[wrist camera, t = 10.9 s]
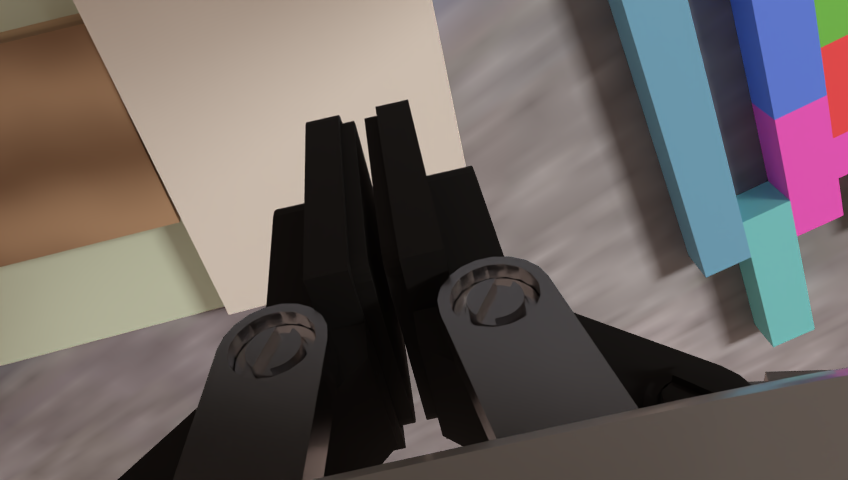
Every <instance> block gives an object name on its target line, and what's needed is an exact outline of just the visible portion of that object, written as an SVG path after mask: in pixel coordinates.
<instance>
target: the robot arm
mask: <svg viewBox="0 0 848 480" xmlns="http://www.w3.org/2000/svg"><path fill="white" fill-rule="evenodd" d="M375 109H376V115H377V116H373V117H369V118H364V121H365V129H366V137H367V145H368V153H369V161H370V169H371V177H372V183H371V179H370V175H369V172H368V168H367V164H366V161H365V157H364V153H363V150H362V146H361V142H360V138H359V135H358V131H357V128H356V124H355V122H354V121H351V122H346V123H342V120H341V117H340V116H339V115H336V116H332V117H328V118H323V119H319V120H314V121H310V122H306V125H305V186H304V203H303V204H298V205H294V206H289V207H285V208H280V209H276V210H275V211H274V215H273V224H272V237H271V250H270V263H269V277H268V290H267V303H266V307H265V308H263V309H261V310H258V311H256V312H254V313H252V314H249V315H248V316H246V317H245V318H244V319H242V320H241V321H239V322H238V323H236V324H235V325H234V326H233V327H232V328H231V329H230V330H229V331H228V332H227V334H226V335H225V336H224V337H223V339H222V341H221V343H220V345H219V346H218V348H217V350H216V353H215V356H214V359H213V362H212V365H211V368H210V371H209V374H208V377H207V380H206V383H205V386H204V389H203V392H202V395H201V398H200V401H199V404H198V407H197V408H196V409H195V410H194V411H193V412H192V413H191V414H190V415H189V416H188V417H186V418H185V419H184V420H183V421H182V422H181V423H180V424H179V425H178V426H177V427H175V428H174V429H173V430H172V431H171V432H170V433H169V434H168V435H167V436H165V437H164V438H163V439H162V440H161V441H160V442H159V443H158V444H157V445H156V446H154V447H153V448H152V449H151V450H150V451H149V452H148V453H147V454H146V455H144V456H143V457H142V458H141V459H140V460H139V461H138V462H137V463H136V464H134V465H133V466H132V467H131V468H130V469H129V470H128V471H127V472H126V473H125V474H123V475H122V476H121V477H120V478H119V479H118V480H848V368H842V369H836V370H813V371H779V372H765V378H764V381H758V382H747V381H746V380H745V379H744V378H742V377H741V376H740V375H739V374H736V373H734V372H732V371H730V370H728V369H726V368H724V367H722V366H720V365H717V364H715V363H712V362H709V361H706V360H704V359H701V358H698V357H695V356H692V355H690V354H687V353H684V352H681V351H679V350H676V349H673V348H670V347H667V346H665V345H662V344H659V343H656V342H654V341H651V340H648V339H645V338H642V337H640V336H637V335H634V334H631V333H629V332H626V331H623V330H620V329H618V328H615V327H612V326H609V325H606V324H604V323H601V322H598V321H595V320H593V319H590V318H587V317H584V316H581V315H579V314H576V313H573V311H572V310H571V308H570V307H569V305H568V304H567V302H566V301H565V300H564V298H563V297H562V295H561V294H560V292H559V291H558V289H557V288H556V286H555V285H554V283H553V282H552V280H551V279H550V278H549V276H548V275H547V274H546V273H545V272H544V271H543V270H542V269H541V268H540V267H539V266H537V265H535V264H533V263H531V262H529V261H527V260H524V259H519V258H514V257H504V255H503V252H502V249H501V247H500V244H499V241H498V238H497V235H496V232H495V229H494V226H493V224H492V221H491V218H490V215H489V212H488V209H487V206H486V203H485V201H484V198H483V195H482V192H481V189H480V186H479V183H478V180H477V178H476V175H475V172H474V169H473V167H472V166H468V167H463V168H459V169H454V170H450V171H445V172H441V173H437V174H432V175H428V176H426V172H425V167H424V163H423V159H422V155H421V151H420V147H419V143H418V139H417V134H416V130H415V126H414V122H413V118H412V114H411V110H410V106H409V102H408V99H407V100H403V101H399V102H394V103H390V104H385V105H381V106H376V107H375ZM372 185H373V186H372ZM405 345H406V349H407V352H408V356H409V359H410V363H411V366H412V370H413V373H414V377H415V380H416V384H417V387H418V391H419V394H420V398H421V401H422V405H423V408H424V412H425V415H426V419H427V420H429V419H433V418H438V420H439V423H440V427H441V431H442V435H443V436H444V437H446V438H447V439H450V440H452V441H454V442H456V443H458V444H459V445H461V446H463V447H458V448H454V449H449V450H445V451H440V452H436V453H431V454H426V455H422V456H417V457H413V458H408V459H404V460H399V461H395V462H390V463H385V464H382V463H383V462H384V461H385V460H386V459H387V458H388V456H389V455H390V454H391V453H392V452H393V451H394V450H398V449H403V448H406V445H405V437H404V429H403V425H406V424H411V423H415V422H416V419H415V411H414V404H413V397H412V390H411V383H410V376H409V370H408V363H407V356H406V349H405Z"/></svg>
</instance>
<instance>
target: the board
mask: <svg viewBox="0 0 848 480" xmlns="http://www.w3.org/2000/svg"><path fill="white" fill-rule="evenodd" d="M73 2H74V4H75V6H76V8H77V10H78V12H79V14H80V16H81V18H82V20H83V22H84V24H85V26H86V28H87V30H88V32H89V34H90V36H91V38H92V40H93V42H94V44H95V46H96V48H97V50H98V52H99V54H100V56H101V58H102V60H103V62H104V64H105V66H106V68H107V70H108V72H109V74H110V76H111V78H112V80H113V82H114V84H115V86H116V88H117V90H118V92H119V94H120V96H121V99H122V101H123V103H124V105H125V107H126V109H127V111H128V113H129V115H130V117H131V119H132V121H133V123H134V125H135V127H136V129H137V131H138V133H139V135H140V137H141V139H142V141H143V143H144V145H145V147H146V149H147V151H148V153H149V155H150V157H151V159H152V161H153V163H154V165H155V167H156V169H157V171H158V173H159V175H160V177H161V179H162V181H163V183H164V185H165V187H166V189H167V191H168V193H169V195H170V197H171V199H172V201H173V203H174V205H175V207H176V209H177V211H178V213H179V215H180V218H181V220H182V222H183V224H184V226H185V228H186V230H187V232H188V234H189V236H190V238H191V240H192V242H193V244H194V246H195V248H196V250H197V252H198V254H199V256H200V258H201V260H202V262H203V264H204V266H205V268H206V270H207V272H208V274H209V276H210V278H211V280H212V282H213V284H214V286H215V288H216V290H217V292H218V294H219V296H220V298H221V300H222V302H223V304H224V306H225V308H226V310H227V312H228V314H229V315H230V314H233V313H237V312H241V311H245V310H249V309H252V308H256V307H260V306H264V305H266V303H267V290H268V277H269V263H270V250H271V237H272V224H273V215H274V211H275V210H276V209H280V208H285V207H289V206H294V205H298V204H303V203H304V186H305V125H306V122H310V121H314V120H319V119H323V118H328V117H332V116H336V115H339V116H340V117H341V120H342V123H346V122H351V121H354V122H355V124H356V128H357V131H358V135H359V138H360V142H361V146H362V150H363V153H364V157H365V161H366V164H367V168H368V172H369V175H370V179H371V183H372V177H371V169H370V161H369V153H368V145H367V137H366V129H365V121H364V118H369V117H373V116H377V115H376V109H375V107H376V106H381V105H385V104H390V103H394V102H399V101H403V100H407V99H408V102H409V106H410V110H411V114H412V118H413V122H414V126H415V130H416V134H417V139H418V143H419V147H420V151H421V155H422V159H423V163H424V167H425V172H426V176H428V175H432V174H437V173H441V172H445V171H450V170H454V169H459V168H463V167H466V165H465V160H464V155H463V150H462V145H461V140H460V135H459V130H458V125H457V121H456V116H455V111H454V106H453V101H452V96H451V91H450V86H449V81H448V76H447V71H446V67H445V62H444V57H443V52H442V47H441V42H440V37H439V32H438V27H437V22H436V18H435V13H434V8H433V3H432V0H73ZM372 186H373V185H372Z"/></svg>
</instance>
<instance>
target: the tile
mask: <svg viewBox="0 0 848 480" xmlns="http://www.w3.org/2000/svg"><path fill="white" fill-rule="evenodd" d="M180 219H181V218H180V215H179V213H178V211H177V209H176V207H175V205H174V203H173V201H172V199H171V197H170V195H169V193H168V191H167V189H166V187H165V185H164V183H163V181H162V179H161V177H160V175H159V173H158V171H157V169H156V167H155V165H154V163H153V161H152V159H151V157H150V155H149V153H148V151H147V149H146V147H145V145H144V143H143V141H142V139H141V137H140V135H139V133H138V131H137V129H136V127H135V125H134V123H133V121H132V119H131V117H130V115H129V113H128V111H127V109H126V107H125V105H124V103H123V101H122V99H121V96H120V94H119V92H118V90H117V88H116V86H115V84H114V82H113V80H112V78H111V76H110V74H109V72H108V70H107V68H106V66H105V64H104V62H103V60H102V58H101V56H100V54H99V52H98V50H97V48H96V46H95V44H94V42H93V40H92V38H91V36H90V34H89V32H88V30H87V28H86V26H85V24H84V22H83V20H82V18H81V16H80V14H79V13H77V14H73V15H69V16H65V17H61V18H57V19H53V20H49V21H45V22H41V23H37V24H32V25H28V26H24V27H20V28H16V29H12V30H8V31H4V32H0V267H3V266H7V265H11V264H15V263H19V262H23V261H27V260H31V259H35V258H39V257H43V256H47V255H51V254H55V253H59V252H63V251H67V250H71V249H75V248H79V247H83V246H87V245H91V244H95V243H99V242H103V241H107V240H111V239H115V238H119V237H123V236H127V235H131V234H135V233H139V232H143V231H147V230H151V229H155V228H159V227H163V226H167V225H171V224H175V223H179V222H180Z"/></svg>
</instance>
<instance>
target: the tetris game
mask: <svg viewBox="0 0 848 480" xmlns="http://www.w3.org/2000/svg"><path fill="white" fill-rule="evenodd" d="M608 2H609V5H610V8H611V11H612V14H613V17H614V21H615V24H616V27H617V30H618V33H619V36H620V40H621V43H622V46H623V49H624V52H625V55H626V59H627V62H628V65H629V68H630V71H631V74H632V78H633V81H634V84H635V87H636V90H637V93H638V97H639V100H640V103H641V106H642V109H643V112H644V116H645V119H646V122H647V125H648V128H649V131H650V135H651V138H652V141H653V144H654V147H655V150H656V154H657V157H658V160H659V163H660V166H661V169H662V173H663V176H664V179H665V182H666V185H667V188H668V192H669V195H670V198H671V201H672V204H673V207H674V211H675V214H676V217H677V220H678V223H679V226H680V230H681V233H682V236H683V239H684V242H685V245H686V249H687V252H688V255H689V257H690V258H691V259H692V260H693V262H694V263H695V264H696V265H697V267H698V268H699V269H700V270H701V272H702V273H703V274H704V275H705V277H709V276H711V275H713V274H715V273H717V272H720V271H722V270H724V269H726V268H728V267H731V266H733V265H735V264H737V263H739V266H740V270H741V273H742V277H743V281H744V285H745V289H746V292H747V296H748V300H749V304H750V308H751V312H752V315H753V319H754V323H755V325H756V326H757V328H758V329H759V330H760V331H761V333H762V334H763V335H764V336H765V337H766V339H767V340H768V341H769V342H770V344H771V345H772V346H773V347H775V346H777V345H779V344H782V343H784V342H786V341H789V340H791V339H793V338H796V337H798V336H800V335H802V334H805V333H807V332H809V331H812V330H814V329H815V328H814V323H813V318H812V312H811V307H810V302H809V297H808V291H807V286H806V281H805V276H804V270H803V265H802V260H801V255H800V250H799V244H798V239H797V236H799V235H801V234H803V233H806V232H808V231H810V230H812V229H814V228H817V227H819V226H821V225H823V224H825V223H828V222H830V221H832V220H834V219H836V218H839V217H841V216H843V208H842V200H841V193H840V186H839V178H840V177H842V176H845V175H847V174H848V0H730V2H731V7H732V12H733V16H734V21H735V26H736V31H737V35H738V40H739V45H740V50H741V54H742V59H743V64H744V69H745V74H746V78H747V83H748V88H749V93H750V97H751V102H752V107H753V112H754V116H755V121H756V126H757V131H758V136H759V140H760V145H761V150H762V155H763V159H764V164H765V169H766V174H767V178H768V181H767V182H765V183H763V184H760V185H758V186H756V187H754V188H752V189H750V190H748V191H745V192H743V193H741V194H739V195H737V196H736V194H735V189H734V185H733V181H732V177H731V173H730V169H729V165H728V161H727V157H726V153H725V149H724V145H723V141H722V137H721V133H720V129H719V125H718V121H717V117H716V112H715V108H714V104H713V100H712V96H711V92H710V88H709V84H708V80H707V76H706V72H705V68H704V64H703V60H702V56H701V52H700V48H699V44H698V40H697V35H696V31H695V27H694V23H693V19H692V15H691V11H690V7H689V3H688V0H608Z"/></svg>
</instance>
